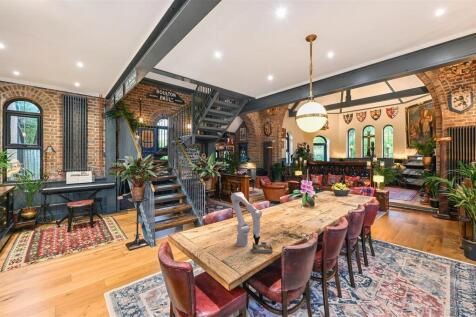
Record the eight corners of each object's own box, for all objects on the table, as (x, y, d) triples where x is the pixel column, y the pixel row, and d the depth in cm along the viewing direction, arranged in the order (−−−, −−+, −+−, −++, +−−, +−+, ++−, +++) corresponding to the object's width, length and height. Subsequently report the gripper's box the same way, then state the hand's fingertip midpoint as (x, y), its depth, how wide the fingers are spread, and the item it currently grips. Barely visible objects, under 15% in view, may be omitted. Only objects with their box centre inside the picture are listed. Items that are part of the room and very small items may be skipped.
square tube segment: (261, 246, 168) (261, 244, 168) (260, 244, 173) (260, 242, 173) (266, 246, 168) (266, 244, 168) (266, 244, 173) (266, 242, 173)
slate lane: (253, 252, 159) (253, 246, 159) (253, 247, 167) (253, 242, 167) (272, 252, 158) (272, 247, 158) (271, 247, 166) (271, 242, 166)
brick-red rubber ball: (271, 247, 160) (267, 246, 160) (270, 252, 160) (265, 250, 160) (270, 244, 164) (266, 243, 164) (269, 249, 164) (264, 247, 164)
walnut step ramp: (253, 252, 159) (253, 245, 159) (252, 247, 167) (252, 241, 167) (260, 252, 159) (260, 245, 159) (259, 247, 167) (259, 241, 167)
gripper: (262, 229, 155) (262, 246, 155) (260, 222, 169) (260, 238, 170) (253, 229, 155) (252, 246, 155) (252, 222, 170) (252, 238, 170)
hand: (256, 242), depth 163 cm, fingers open, 7 cm apart
